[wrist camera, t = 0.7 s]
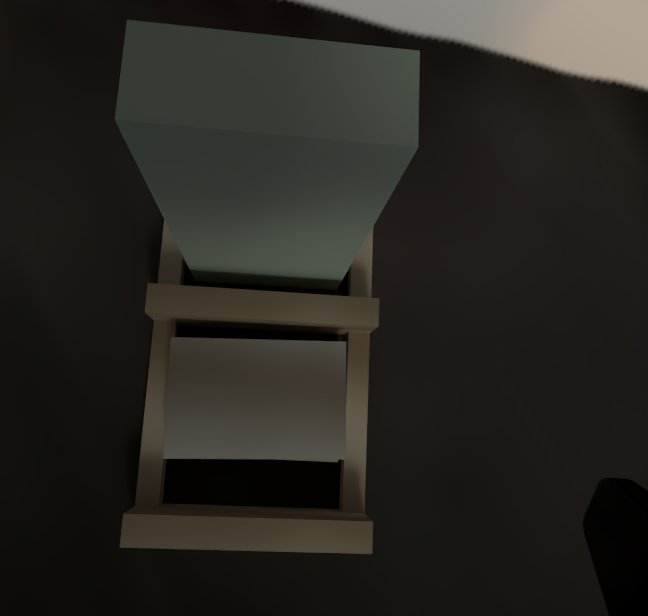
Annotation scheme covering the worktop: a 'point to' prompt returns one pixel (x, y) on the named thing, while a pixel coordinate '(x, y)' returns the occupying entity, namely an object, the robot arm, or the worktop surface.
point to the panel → (267, 146)
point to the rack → (261, 314)
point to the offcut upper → (256, 399)
